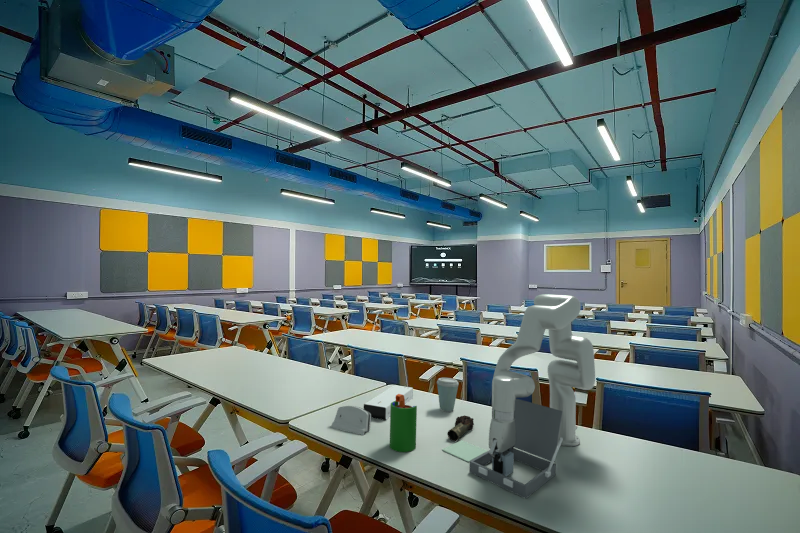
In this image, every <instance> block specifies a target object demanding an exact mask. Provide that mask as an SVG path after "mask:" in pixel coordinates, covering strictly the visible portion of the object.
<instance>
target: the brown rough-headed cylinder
mask: <svg viewBox="0 0 800 533" xmlns="http://www.w3.org/2000/svg"><path fill="white" fill-rule="evenodd" d="M474 426H475V423H474V418H473V417H472V418H471V417H470V416H469V415H460V416H457V417H456V418H455V422H454V426H453V427H452V428H450V429H449V430H448V431H447V432H446V433H447V437H448V439H449V440H451V441H452V442H458V440H459V439H460V438H461V437H462V436H463V435H464V434H465V433H466V432H467V431H471V430H472V429H473V428H474Z"/></svg>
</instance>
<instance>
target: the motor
mask: <svg viewBox="0 0 800 533" xmlns="http://www.w3.org/2000/svg"><path fill="white" fill-rule="evenodd" d="M398 402H399V405H398ZM417 407H418V406H417V405H413V406H411V405H409V404H406V405H405V399H404V395H401V394H398V395H396V401H393V402H392V403H391V411H390V418H389V448H390V449H391V450H393V451H395V452H399V453H407V452H412V451H414V450H416V448H417V418H418V417H417V415H418V414H417V411H418V408H417Z"/></svg>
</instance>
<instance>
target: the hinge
mask: <svg viewBox="0 0 800 533" xmlns="http://www.w3.org/2000/svg"><path fill="white" fill-rule="evenodd" d="M371 420H372V418H371V414H370V413H369V412H368V411H366V410H364V408H362V407H359V406H356V405H342V406H339V407H338V408H337V410H336V413H335V417H334V420H333V421H332V423H331V427H330V428H331V429H335V428H336V430H339V429H340V431H343V430H344V432H347V431H348V432H347V433H351V432H353V433H352V434H355V433H357V435H360V434H361V435H360V436H364V435H365V432H367V433H368V432H369V431H371V423H372V422H371Z"/></svg>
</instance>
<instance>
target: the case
mask: <svg viewBox="0 0 800 533" xmlns="http://www.w3.org/2000/svg"><path fill="white" fill-rule="evenodd" d="M562 440H563V438H560V440H559V443H558V445H557V448H556V450H555V453H554V455H553V458H552V460H551V461H549V460H546V459H544V458H541V457H538V456H536V455H533V454H530V453H528V452H525V451H522V450H520V449H517V448H513V453H514V460H515V461H517V462H519V463H522V464H525V465H527V466H530V467H532V468H534V469H536V470H537V469H538V470H540V471H541V472H539V473H538V474H536V475H535V476H534V477H533V478H531V479H529V481H527V482H525V484H524V483H522V482H521V481H518V480H516V479H513V478H511V477H509V476H508V475H507V476H505V475H502V474H500V473H498V472H496V471H493V470H492V468H488V467H486V465H488V464H489V463H492V456H491V455H490V454H489V452H490V449H489V450H487V452H486V453H484V454H482V455H480V456H478V457H476V458H475V459H473V460H471V461H470V462H469V473H470V474H473V475H475V476H477V477H480V478H481V479H483V480H485V481H488V482H489V483H492V484H493V485H496V486H498V487H500V488H502V489H503V490H507V491H508V492H511V493H513V494H515V495H517V496H519V497H520V498H523V499H528V497H530V496H531V495H533V493H535V492H536V491H537V490H539V489H540V488H541V487H542V486H544V485H546V483H547V482H549V481H550V480H551V479H552V478H553V477H555V476H556V474H557V472H556V471H557V470H556V469H557V468H556V467H557V466H556V465H557V464H556V463H554V460H555V461H556V458H557V455H558V453H559V450H560V447H561V446H562V445H561V442H562ZM497 450H498V448H497Z"/></svg>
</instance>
